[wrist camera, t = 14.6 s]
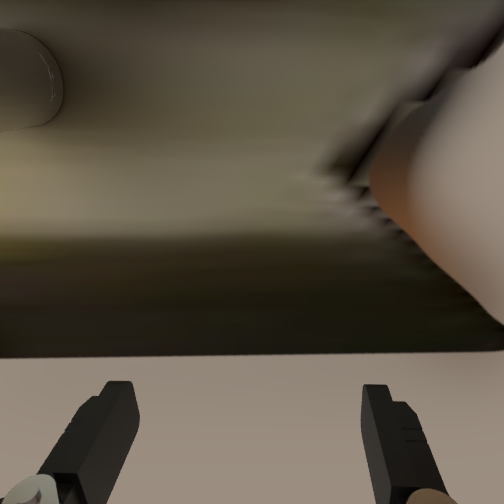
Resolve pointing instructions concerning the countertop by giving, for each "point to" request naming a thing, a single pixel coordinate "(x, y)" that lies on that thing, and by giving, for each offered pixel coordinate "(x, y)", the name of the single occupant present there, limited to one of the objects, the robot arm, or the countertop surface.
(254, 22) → the countertop surface
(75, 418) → the robot arm
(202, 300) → the countertop surface
